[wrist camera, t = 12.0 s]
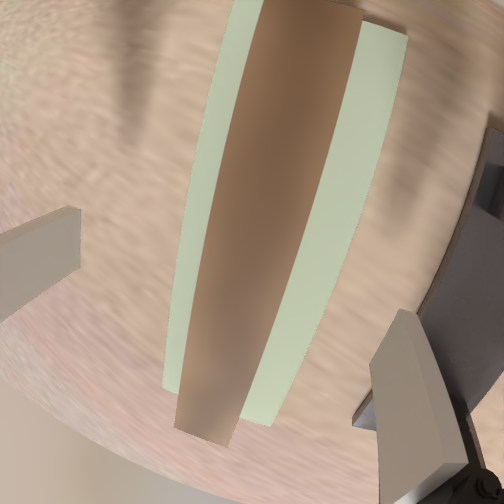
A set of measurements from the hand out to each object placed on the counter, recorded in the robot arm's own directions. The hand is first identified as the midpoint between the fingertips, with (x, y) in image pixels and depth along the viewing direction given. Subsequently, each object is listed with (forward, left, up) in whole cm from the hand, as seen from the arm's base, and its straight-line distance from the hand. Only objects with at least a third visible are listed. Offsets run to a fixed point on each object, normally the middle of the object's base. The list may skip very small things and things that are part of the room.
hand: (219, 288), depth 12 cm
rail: (+1, 0, -4) cm, 4 cm away
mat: (+1, 0, -5) cm, 5 cm away
